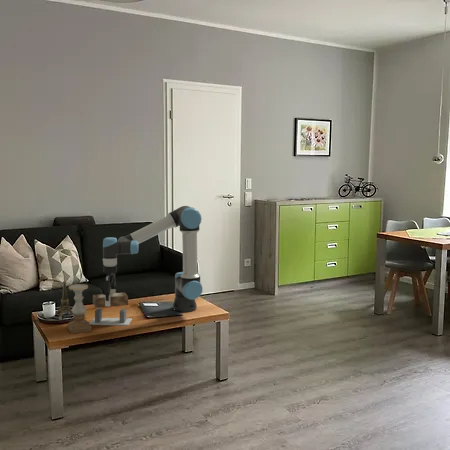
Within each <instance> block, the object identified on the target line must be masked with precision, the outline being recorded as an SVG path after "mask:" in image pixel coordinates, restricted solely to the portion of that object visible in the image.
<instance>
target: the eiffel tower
mask: <svg viewBox="0 0 450 450" xmlns="http://www.w3.org/2000/svg"><path fill="white" fill-rule="evenodd" d="M61 283H62V296H61V299H60V305H59V307H58V309H57V310H56V312H55V314H60V315H59V316H58V318H59V317H62V316H64V313H65V312H67V313H68V312H70V314H69V315H70V316H71V315H72V314H73V313H72V307H71V306H70V303H69V302H70V299H69V298H68V297H69V295H68V291H67V285H66V284H68V283H67V281H66V278H65V276H64V277H63V281H62V282H61Z"/></svg>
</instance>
